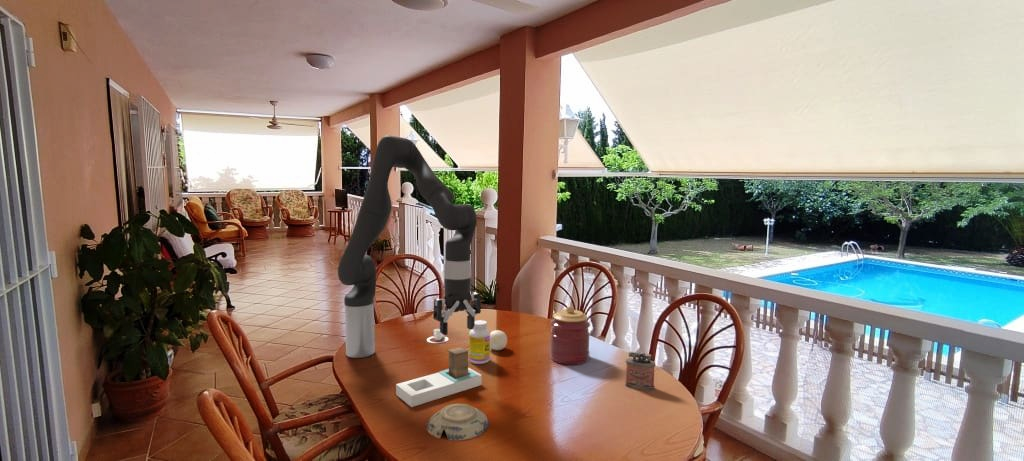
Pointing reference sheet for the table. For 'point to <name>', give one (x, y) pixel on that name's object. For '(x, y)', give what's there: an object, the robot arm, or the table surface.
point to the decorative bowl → (458, 422)
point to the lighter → (640, 371)
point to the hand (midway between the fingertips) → (457, 331)
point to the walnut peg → (458, 362)
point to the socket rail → (435, 386)
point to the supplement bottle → (479, 343)
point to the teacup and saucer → (437, 336)
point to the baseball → (497, 340)
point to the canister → (569, 337)
